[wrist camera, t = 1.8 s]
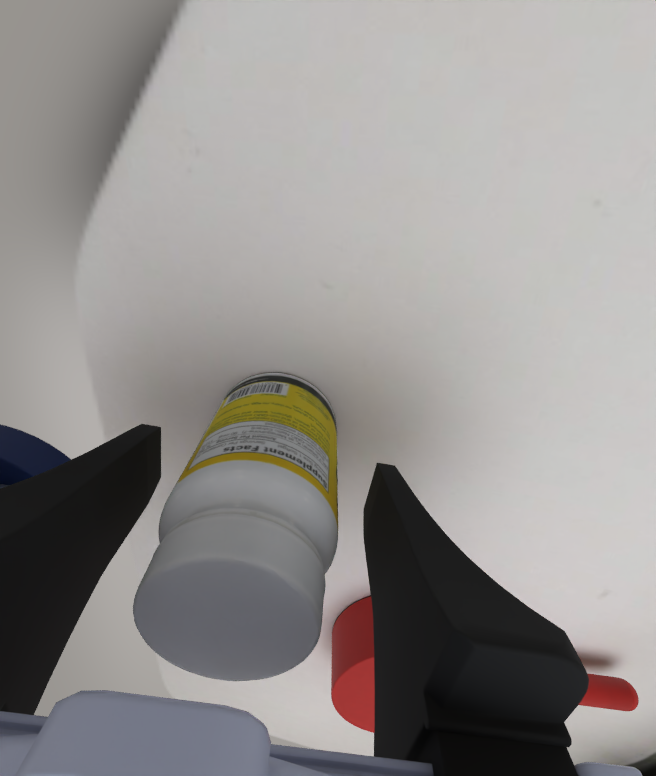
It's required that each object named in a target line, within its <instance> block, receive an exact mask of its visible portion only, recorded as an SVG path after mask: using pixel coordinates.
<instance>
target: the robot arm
mask: <svg viewBox="0 0 656 776" xmlns="http://www.w3.org/2000/svg"><path fill="white" fill-rule="evenodd" d="M160 478H161V427H157V426H151V425H145V424H141V425H139V426H137V427H135V428H133V429H131V430H129V431H127V432H125V433H123V434H121V435H119V436H118V437H116V438H114V439H112V440H110V441H108V442H106V443H104V444H102V445H100V446H99V447H97V448H95V449H93V450H91V451H89V452H87V453H85V454H83V455H81V456H79V457H77V458H74V459H72V460H70V461H68V462H66V463H64V464H62V465H59V466H57V467H55V468H53V469H51V470H48V471H46V472H43V473H41V474H39V475H36V476H34V477H31V478H28V479H26V480H23V481H20V482H18V483H15V484H12V485H4V484H0V776H642V774H641V772H640V771H639V770H638V769H636V768H634V767H628V766H620V765H612V764H604V763H596V762H584V763H580V764H577V765H575V766H574V764H573V762H572V760H571V757H570V755H569V752H568V750H567V748H566V747H569V746H570V745H571V737H570V735H569V733H568V730H567V728H566V726H565V724H564V721H565V720H566V719H567V718H568V717H569V715H570V714H571V713H572V712H573V710H574V709H575V708H576V707H577V706H578V704H579V703H580V702H581V701H582V699H583V697H584V696H585V694H586V692H587V690H588V685H589V677H588V675H587V672H586V670H585V668H584V666H583V664H582V662H581V660H580V658H579V657H578V655H577V653H576V651H575V649H574V647H573V645H572V643H571V642H570V640H569V638H568V636H567V635H566V633H565V631H563V630H562V629H560V628H559V627H557V626H556V625H554V624H553V623H551V622H550V621H548V620H547V619H546V618H544V617H543V616H541V615H540V614H538V613H537V612H535V611H534V610H532V609H531V608H529V607H528V606H526V605H525V604H524V603H522V602H521V601H520V600H518V599H517V598H516V597H514V596H513V595H512V594H510V593H509V592H508V591H506V590H505V589H504V588H503V587H501V586H500V585H499V584H498V583H497V582H495V581H494V580H493V579H492V578H491V577H489V576H488V575H487V574H486V573H485V572H484V571H483V570H481V569H480V568H479V567H478V566H477V565H476V564H475V563H474V562H473V561H472V560H470V559H469V558H468V557H467V556H466V555H465V554H464V553H463V552H462V551H461V550H460V549H459V548H458V547H457V546H456V545H455V543H454V542H453V541H452V540H451V539H450V538H449V537H448V536H447V535H446V534H445V533H444V532H443V530H442V529H441V528H440V527H439V526H438V524H437V523H436V522H435V521H434V520H433V518H432V517H431V516H430V515H429V513H428V512H427V511H426V509H425V508H424V507H423V506H422V504H421V503H420V501H419V500H418V499H417V497H416V496H415V495H414V493H413V492H412V490H411V489H410V487H409V486H408V484H407V483H406V481H405V480H404V478H403V477H402V476H401V474H400V473H399V471H398V470H397V468H396V467H395V466H393V465H387V464H381V463H377V465H376V468H375V472H374V475H373V479H372V482H371V486H370V489H369V493H368V496H367V499H366V503H365V506H364V544H365V552H366V560H367V568H368V576H369V584H370V591H371V599H372V610H373V632H374V682H375V725H374V757H373V756H364V755H356V754H348V753H340V752H331V751H323V750H315V749H307V748H298V747H290V746H282V745H273V744H271V741H270V737H269V734H268V730H267V728H266V726H265V725H264V724H263V723H262V722H261V721H260V720H258V719H257V718H256V717H254V716H253V715H251V714H250V713H249V712H247V711H243V710H239V709H236V708H232V707H229V706H225V705H218V704H210V703H202V702H194V701H186V700H178V699H170V698H163V697H155V696H147V695H139V694H130V693H123V692H115V691H107V690H102V691H101V690H96V691H80V692H78V693H75V694H73V695H71V696H69V697H67V698H65V699H62V700H60V701H58V702H56V704H55V706H54V707H53V709H52V711H51V713H50V715H49V716H48V717H44V716H36V715H34V713H35V710H36V708H37V706H38V704H39V702H40V699H41V697H42V695H43V693H44V690H45V688H46V686H47V683H48V681H49V679H50V677H51V675H52V673H53V671H54V669H55V667H56V665H57V662H58V660H59V658H60V656H61V654H62V652H63V650H64V648H65V646H66V643H67V641H68V639H69V637H70V635H71V633H72V631H73V629H74V627H75V625H76V623H77V621H78V619H79V617H80V615H81V613H82V611H83V609H84V608H85V606H86V604H87V602H88V600H89V598H90V596H91V594H92V592H93V590H94V589H95V587H96V585H97V583H98V581H99V579H100V577H101V576H102V574H103V572H104V571H105V569H106V567H107V566H108V564H109V562H110V561H111V559H112V558H113V556H114V555H115V553H116V552H117V550H118V549H119V547H120V546H121V544H122V543H123V541H124V539H125V538H126V537H127V535H128V534H129V532H130V531H131V529H132V528H133V526H134V525H135V523H136V522H137V520H138V519H139V517H140V516H141V514H142V513H143V511H144V509H145V508H146V506H147V505H148V503H149V501H150V499H151V497H152V495H153V493H154V491H155V489H156V487H157V484H158V482H159V480H160Z"/></svg>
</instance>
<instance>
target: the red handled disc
mask: <svg viewBox="0 0 656 776" xmlns="http://www.w3.org/2000/svg"><path fill="white" fill-rule="evenodd" d="M587 675H588V677H589V685H588V690H587V692H586V694H585V696H584V697H583V699H582V701H581V702H580V703H579V704H578V705H583V706H591V707H599V708H606V709H614V710H622V711H632V710H634V709H635V708H636V707H637V705H638V695H637V693H636V691H635V689H634V688H633V686H632V685H631V684H630V683H628V682H627V681H625V680H624V679H621V678H616V677H609V676H602V675H594V674H587ZM331 695H332V702H333V705H334V707H335V709H336V710H337V712H338V713H339V714H340V715H341V716H342V717H343V718H344V719H345V720H347V721H348V722H349V723H351V724H353V725H355V726H357V727H359V728H361V729H364V730H367V731H370V732H374V725H375V682H374V632H373V610H372V599H371V596H370V597H367V598H364V599H362V600H360V601H358V602H356V603H354V604H352V605H351V606H349V607H348V608H347V609H346V610H344V611H343V612H342V613H341V615H340V616H339V617H338V619H337V620H336V622H335V624H334V627H333V631H332V688H331Z"/></svg>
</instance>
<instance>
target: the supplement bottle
mask: <svg viewBox="0 0 656 776" xmlns="http://www.w3.org/2000/svg"><path fill="white" fill-rule="evenodd" d="M337 482H338V480H337V428H336V420H335V415H334V412H333V410H332V408H331V405H330V404H329V402H328V400H327V399H326V397H325V396H324V395H323V394H322V393H321V392H320V391H319V390H318V389H317V388H316V387H314V386H313V385H312V384H310V383H308V382H307V381H305V380H303V379H300V378H298V377H295V376H292V375H288V374H283V373H264V374H258V375H255V376H252V377H249V378H247V379H245V380H243V381H242V382H240V383H238V384H237V385H236V386H235V387H233V388H232V389H231V390H230V391H229V392H228V394H227V395H226V396H225V398H224V399H223V401H222V403H221V405H220V407H219V408H218V410H217V412H216V414H215V416H214V417H213V419H212V421H211V423H210V425H209V426H208V428H207V430H206V432H205V433H204V435H203V437H202V439H201V441H200V443H199V444H198V446H197V448H196V450H195V451H194V453H193V455H192V457H191V458H190V460H189V462H188V464H187V466H186V467H185V469H184V471H183V473H182V474H181V476H180V478H179V480H178V481H177V483H176V485H175V487H174V488H173V490H172V492H171V494H170V496H169V498H168V499H167V501H166V503H165V506H164V508H163V511H162V514H161V518H160V523H159V541H160V545H159V546H158V548H157V549H156V551H155V553H154V555H153V558H152V560H151V562H150V564H149V567H148V569H147V571H146V573H145V575H144V577H143V579H142V581H141V583H140V585H139V587H138V590H137V592H136V595H135V599H134V605H133V614H134V621H135V624H136V626H137V629H138V630H139V632H140V634H141V636H142V637H143V639H144V640H145V642H146V643H147V644H148V645H149V646H150V647H151V648H152V649H153V650H154V651H155V652H156V653H157V654H159V655H160V656H161V657H163V658H164V659H165V660H167V661H168V662H170V663H172V664H174V665H176V666H178V667H180V668H182V669H184V670H186V671H189V672H192V673H195V674H198V675H201V676H204V677H208V678H213V679H220V680H227V681H248V680H258V679H264V678H269V677H273V676H276V675H279V674H281V673H284V672H286V671H288V670H290V669H292V668H294V667H295V666H296V665H298V664H300V663H301V662H302V661H303V660H305V659H306V658H307V657H308V656H309V654H310V653H311V652H312V650H313V649H314V647H315V646H316V644H317V642H318V639H319V636H320V632H321V625H322V612H323V598H324V593H325V573H326V572H327V570H328V569H329V567H330V565H331V563H332V561H333V558H334V555H335V552H336V548H337V540H338V509H337V508H338V503H337Z"/></svg>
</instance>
